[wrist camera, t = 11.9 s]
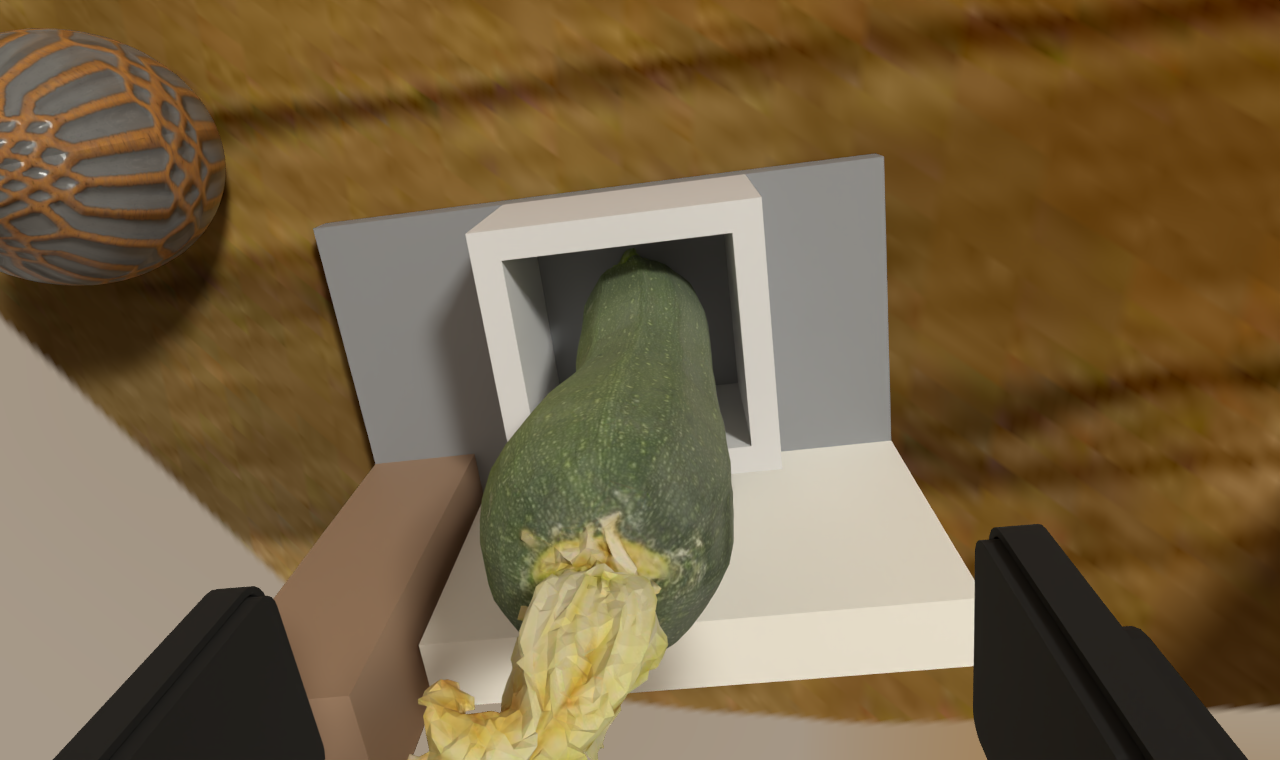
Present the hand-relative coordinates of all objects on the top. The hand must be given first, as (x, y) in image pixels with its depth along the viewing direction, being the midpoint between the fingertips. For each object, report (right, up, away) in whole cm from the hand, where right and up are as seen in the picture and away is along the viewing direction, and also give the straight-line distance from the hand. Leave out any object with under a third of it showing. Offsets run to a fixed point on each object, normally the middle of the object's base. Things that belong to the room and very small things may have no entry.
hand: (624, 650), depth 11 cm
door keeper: (0, +4, +18) cm, 18 cm away
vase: (-15, +11, +16) cm, 25 cm away
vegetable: (0, +6, +16) cm, 17 cm away
